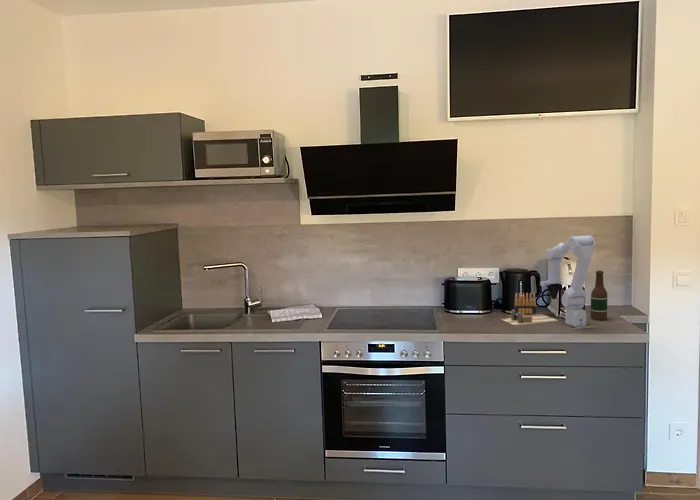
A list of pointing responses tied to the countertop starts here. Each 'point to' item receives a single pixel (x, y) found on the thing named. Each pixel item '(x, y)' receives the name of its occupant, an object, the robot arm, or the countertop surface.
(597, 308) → the beer bottle
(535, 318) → the bench board
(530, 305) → the ammunition clip
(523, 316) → the tan cardboard box
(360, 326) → the countertop surface
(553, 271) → the robot arm
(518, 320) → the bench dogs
